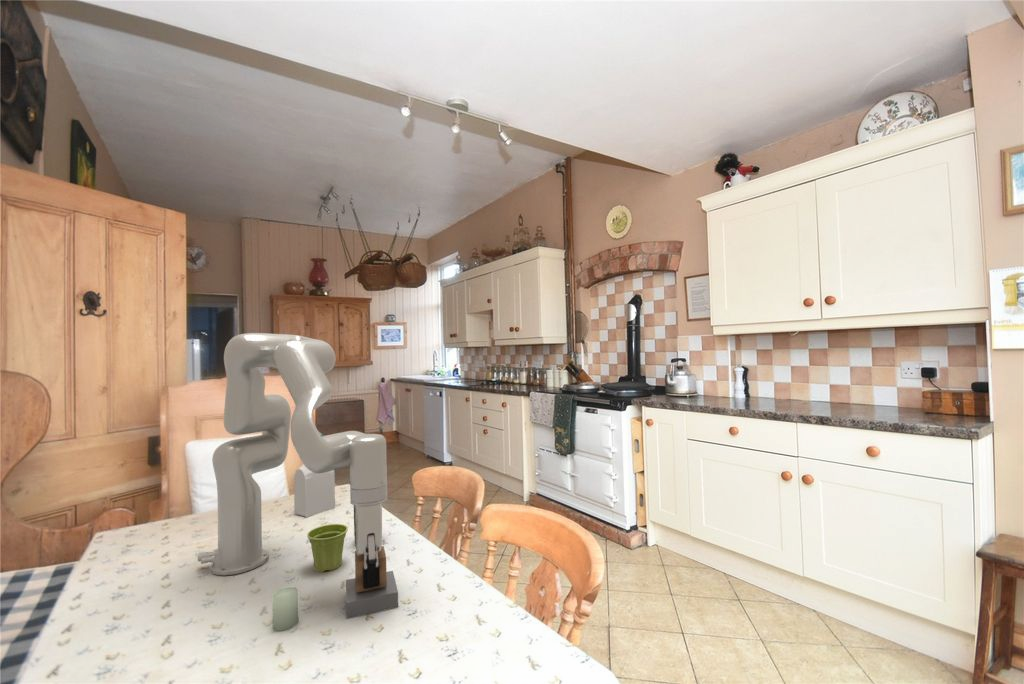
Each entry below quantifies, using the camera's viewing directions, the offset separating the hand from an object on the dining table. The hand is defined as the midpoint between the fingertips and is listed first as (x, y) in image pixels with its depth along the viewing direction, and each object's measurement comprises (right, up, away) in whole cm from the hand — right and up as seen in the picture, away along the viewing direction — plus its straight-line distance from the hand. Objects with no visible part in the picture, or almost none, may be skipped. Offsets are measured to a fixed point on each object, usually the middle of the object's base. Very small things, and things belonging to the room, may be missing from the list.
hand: (370, 578), depth 94 cm
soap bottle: (-37, -8, +57) cm, 69 cm away
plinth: (0, -4, 0) cm, 4 cm away
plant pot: (-16, -6, +16) cm, 23 cm away
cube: (0, -1, 0) cm, 1 cm away
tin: (-14, -5, -8) cm, 17 cm away
